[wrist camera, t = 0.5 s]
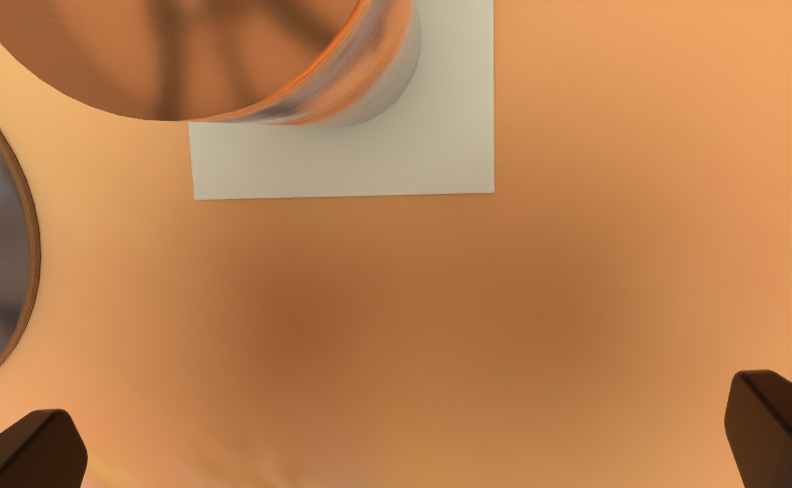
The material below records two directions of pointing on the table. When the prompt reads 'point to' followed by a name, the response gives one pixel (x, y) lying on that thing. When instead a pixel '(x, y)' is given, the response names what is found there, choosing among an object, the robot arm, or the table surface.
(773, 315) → the table surface
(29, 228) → the hub flange
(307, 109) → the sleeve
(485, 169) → the stand pad
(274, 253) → the table surface
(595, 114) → the table surface
